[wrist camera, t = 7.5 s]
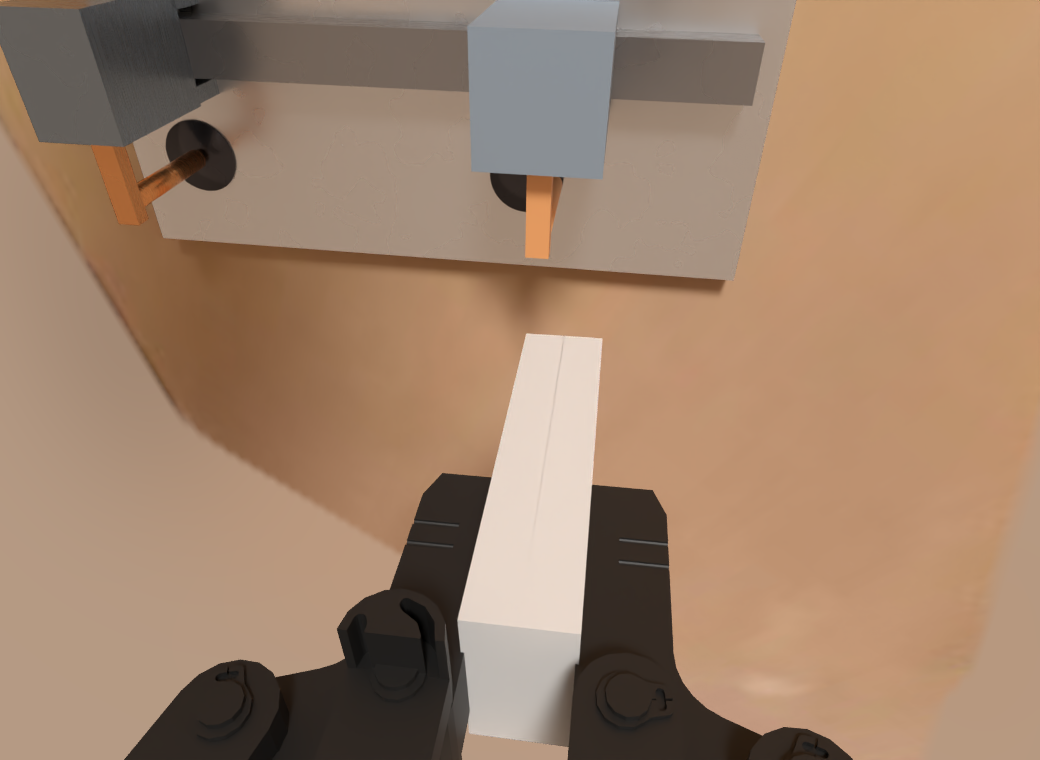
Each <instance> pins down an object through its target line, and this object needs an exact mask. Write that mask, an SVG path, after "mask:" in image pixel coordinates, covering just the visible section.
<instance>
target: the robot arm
mask: <svg viewBox="0 0 1040 760" xmlns="http://www.w3.org/2000/svg"><path fill="white" fill-rule="evenodd" d="M601 351H602V338H588V337H573V336H558V335H543V334H527V333H526V338H525V342H524V346H523V350H522V354H521V358H520V362H519V367H518V371H517V375H516V379H515V383H514V387H513V391H512V396H511V400H510V404H509V408H508V412H507V416H506V421H505V425H504V429H503V433H502V437H501V441H500V445H499V450H498V454H497V458H496V462H495V466H494V470H493V474H492V478H490V477H479V476H468V475H457V474H446V473H442V474H441V475H440V476H439V477H438V479H437V480H436V481H435V482H434V483H433V484H432V485H431V486H430V487H429V488H428V489H427V490H426V491H425V492H424V493H423V495H422V498H421V501H420V504H419V507H418V510H417V513H416V516H415V519H414V524H412V527H411V530H410V533H409V536H408V539H407V545H405V547H404V550H403V553H402V556H401V559H400V562H399V565H398V568H397V571H396V574H395V576H394V579H393V582H392V585H391V588H390V590H384V591H381V592H379V593H376V594H374V595H371V596H369V597H366V598H364V599H363V600H362V601H360V602H359V603H358V604H357V605H355V606H354V607H353V608H352V609H350V610H349V611H348V612H347V614H346V615H345V617H344V618H343V620H342V622H341V623H340V625H339V626H338V628H337V631H338V635H339V638H340V642H341V646H342V649H343V653H344V656H345V659H344V660H342V661H340V662H338V663H336V664H333V665H330V666H327V667H323V668H320V669H315V670H311V671H305V672H300V673H296V674H291V675H285V676H280V677H275V676H274V674H273V673H272V672H271V671H270V670H268V669H267V668H266V667H264V666H263V665H262V664H260V663H258V662H252V661H246V660H236V661H231V662H226V663H220V664H218V665H216V666H214V667H212V668H210V669H209V670H207V671H205V672H203V673H201V674H199V675H198V676H197V677H196V678H194V679H193V680H192V681H191V682H190V683H189V684H188V685H187V686H186V687H185V688H184V689H183V690H181V691H180V693H179V694H178V695H177V696H176V698H175V699H174V700H173V701H172V703H171V704H170V705H169V706H168V707H167V708H166V710H165V711H164V712H163V713H162V714H161V716H160V717H159V718H158V719H157V721H156V722H155V723H154V724H153V725H152V727H151V728H150V729H149V730H148V731H147V733H146V734H145V735H144V736H143V737H142V739H141V740H140V741H139V742H138V744H137V745H136V746H135V747H134V748H133V750H132V751H131V752H130V754H128V756H127V757H126V758H125V759H124V760H462V756H461V753H462V748H463V743H464V738H465V733H466V728H467V723H468V727H469V733H470V734H476V735H483V736H491V737H498V738H506V739H514V740H520V741H528V742H535V743H536V742H537V743H543V744H551V745H558V746H565V747H569V750H568V760H853V759H852V758H851V757H850V756H849V755H848V754H847V753H845V752H844V751H843V750H842V749H841V748H840V747H838V746H837V745H836V744H835V743H834V742H832V741H831V740H830V739H828V738H826V737H823V736H821V735H819V734H817V733H814V732H812V731H810V730H808V729H800V728H788V727H783V728H780V729H777V730H774V731H771V732H768V733H766V734H764V735H763V736H762V735H760V734H757V733H755V732H753V731H751V730H749V729H746V728H744V727H742V726H740V725H738V724H735V723H733V722H731V721H729V720H727V719H725V718H722V717H721V716H719V715H717V714H716V713H714V712H712V711H710V710H709V709H707V708H706V707H705V706H704V705H702V704H701V703H700V702H699V701H698V700H697V699H696V698H695V697H693V695H692V694H691V693H690V691H689V690H688V689H687V687H686V686H685V685H684V683H683V682H682V680H681V677H680V675H679V673H678V671H677V669H676V664H675V659H674V654H673V635H672V615H671V594H670V574H669V554H668V534H667V515H666V513H665V511H664V510H663V508H662V506H661V504H660V503H659V501H658V499H657V497H656V496H655V494H654V492H653V490H643V489H632V488H621V487H610V486H599V485H592V476H593V462H594V448H595V434H596V420H597V406H598V393H599V379H600V365H601Z"/></svg>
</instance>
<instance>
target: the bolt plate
mask: <svg viewBox="0 0 1040 760" xmlns="http://www.w3.org/2000/svg"><path fill="white" fill-rule="evenodd" d="M495 1H496V0H10V1H5V2H0V45H1V47H2V50H3V52H4V55H5V57H6V60H7V62H8V65H9V67H10V70H11V72H12V75H13V77H14V80H15V82H16V85H17V87H18V90H19V92H20V95H21V97H22V100H23V102H24V105H25V107H26V110H27V112H28V115H29V117H30V120H31V122H32V125H33V127H34V130H35V132H36V135H37V137H38V140H39V142H50V143H66V144H83V145H91V147H92V150H93V152H94V155H95V158H96V161H97V164H98V166H99V169H100V172H101V175H102V178H103V180H104V183H105V186H106V189H107V192H108V194H109V197H110V200H111V203H112V206H113V208H114V211H115V214H116V217H117V220H118V222H119V224H127V225H141V224H142V223H144V222H145V221H146V220H148V219H149V218H148V215H147V212H146V209H145V206H147V205H148V204H150V203H151V202H152V204H153V208H154V211H155V214H156V217H157V220H158V223H159V226H160V229H161V233H162V236H163V238H169V239H183V240H196V241H209V242H223V243H236V244H250V245H263V246H276V247H290V248H303V249H317V250H330V251H343V252H357V253H370V254H384V255H397V256H410V257H424V258H437V259H451V260H464V261H478V262H491V263H504V264H518V265H531V266H545V267H558V268H571V269H585V270H598V271H612V272H625V273H638V274H652V275H665V276H679V277H692V278H705V279H719V280H732V281H734V277H735V272H736V268H737V263H738V259H739V254H740V250H741V245H742V241H743V236H744V232H745V228H746V223H747V219H748V214H749V210H750V205H751V201H752V196H753V192H754V187H755V183H756V178H757V174H758V169H759V165H760V161H761V156H762V152H763V147H764V143H765V138H766V134H767V129H768V125H769V120H770V116H771V111H772V107H773V102H774V98H775V94H776V89H777V85H778V80H779V76H780V71H781V67H782V62H783V58H784V53H785V49H786V44H787V40H788V35H789V31H790V27H791V22H792V18H793V13H794V9H795V4H796V0H602V1H619V12H618V22H617V32H616V43H615V54H614V66H613V77H612V88H611V102H610V114H609V123H608V133H607V142H606V152H605V161H604V170H603V179H602V180H601V179H585V178H569V177H560V178H561V180H562V189H561V193H560V197H559V202H558V206H557V210H556V214H555V219H554V223H553V227H552V231H551V244H550V254H549V259H539V258H526V257H525V241H526V190H527V175H520V174H503V173H487V172H471V138H470V103H469V69H468V35H467V26H468V25H469V24H470V23H472V22H473V21H474V20H475V19H476V18H477V17H478V16H479V15H481V14H482V13H483V12H484V11H485V10H486V9H487V8H489V7H490V6H491V5H492V4H493V3H494V2H495ZM132 142H133V145H134V148H135V151H136V154H137V158H138V161H139V164H140V167H141V170H142V173H143V176H144V179H143V180H141V181H140V182H138V183H137V182H136V179H135V176H134V173H133V170H132V167H131V164H130V160H129V157H128V154H127V151H126V148H125V146H127V145H128V144H130V143H132Z"/></svg>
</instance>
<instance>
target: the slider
mask: <svg viewBox="0 0 1040 760" xmlns="http://www.w3.org/2000/svg"><path fill="white" fill-rule="evenodd" d="M618 12H619V1H602V0H496V1H495V2H494V3H493V4H492V5H491V6H490V7H489V8H487V9H486V10H485V11H484V12H483V13H482V14H481V15H479V16H478V17H477V18H476V19H475V20H474V21H473V22H472V23H470V24H469V25H468V26H467V35H468V69H469V103H470V138H471V172H487V173H503V174H520V175H527V190H526V241H525V257H526V258H539V259H549V254H550V244H551V231H552V227H553V223H554V219H555V214H556V210H557V206H558V202H559V197H560V193H561V189H562V180H561V178H560V177H569V178H585V179H601V180H602V179H603V170H604V161H605V152H606V142H607V133H608V123H609V114H610V102H611V88H612V77H613V66H614V54H615V43H616V32H617V22H618Z"/></svg>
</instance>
